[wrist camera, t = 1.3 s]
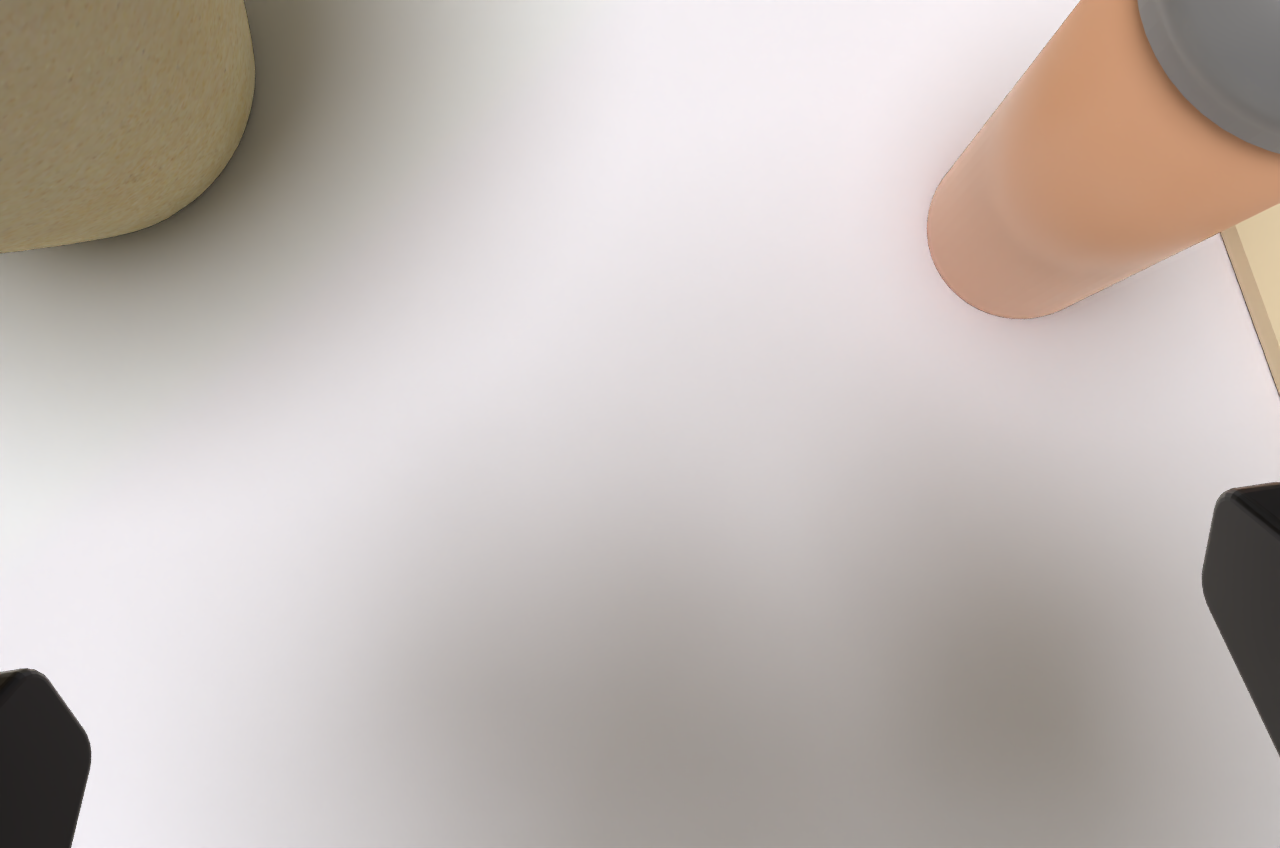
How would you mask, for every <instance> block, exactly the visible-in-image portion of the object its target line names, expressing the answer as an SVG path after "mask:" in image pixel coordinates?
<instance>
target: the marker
mask: <svg viewBox="0 0 1280 848" xmlns="http://www.w3.org/2000/svg"><path fill="white" fill-rule="evenodd" d="M1279 203H1280V0H1080V2H1079V3H1078V4H1077V6H1076V7H1075V8H1074V9H1073V11H1072V12H1071V13H1070V15H1069V16H1068V17H1067V18H1066V20H1065V21H1064V22H1063V24H1062V25H1061V26H1060V28H1059V29H1058V30H1057V31H1056V33H1055V34H1054V35H1053V37H1052V38H1051V39H1050V40H1049V42H1048V43H1047V44H1046V46H1045V47H1044V48H1043V50H1042V51H1041V52H1040V53H1039V55H1038V56H1037V57H1036V59H1035V60H1034V61H1033V62H1032V64H1031V65H1030V66H1029V68H1028V69H1027V70H1026V72H1025V73H1024V74H1023V75H1022V77H1021V78H1020V79H1019V81H1018V82H1017V83H1016V84H1015V86H1014V87H1013V88H1012V90H1011V91H1010V92H1009V94H1008V95H1007V96H1006V97H1005V99H1004V100H1003V101H1002V103H1001V104H1000V105H999V106H998V108H997V109H996V110H995V112H994V113H993V114H992V115H991V117H990V118H989V119H988V121H987V122H986V123H985V125H984V126H983V127H982V128H981V130H980V131H979V132H978V134H977V135H976V136H975V137H974V139H973V140H972V141H971V143H970V144H969V145H968V147H967V148H966V149H965V150H964V152H963V153H962V154H961V156H960V157H959V158H958V159H957V161H956V162H955V163H954V165H953V166H952V167H951V169H950V170H949V171H948V172H947V174H946V175H945V176H944V178H943V179H942V181H941V182H940V184H939V186H938V187H937V189H936V191H935V194H934V196H933V198H932V201H931V205H930V208H929V213H928V220H927V237H928V245H929V249H930V253H931V256H932V259H933V261H934V264H935V266H936V268H937V270H938V272H939V273H940V275H941V277H942V278H943V280H944V281H945V282H946V284H947V285H948V286H949V287H950V288H951V289H952V290H953V291H954V292H955V293H956V294H957V295H958V296H959V297H960V298H962V299H963V300H964V301H966V302H967V303H968V304H970V305H972V306H974V307H975V308H977V309H979V310H981V311H984V312H986V313H989V314H992V315H996V316H999V317H1005V318H1012V319H1029V318H1038V317H1042V316H1046V315H1050V314H1052V313H1055V312H1057V311H1060V310H1062V309H1064V308H1066V307H1068V306H1070V305H1072V304H1075V303H1077V302H1079V301H1081V300H1083V299H1085V298H1087V297H1089V296H1091V295H1093V294H1095V293H1097V292H1099V291H1101V290H1103V289H1105V288H1107V287H1109V286H1111V285H1113V284H1115V283H1117V282H1120V281H1122V280H1124V279H1126V278H1128V277H1130V276H1132V275H1134V274H1136V273H1138V272H1140V271H1142V270H1144V269H1146V268H1148V267H1150V266H1152V265H1154V264H1156V263H1158V262H1160V261H1162V260H1165V259H1167V258H1169V257H1171V256H1173V255H1175V254H1177V253H1179V252H1181V251H1183V250H1185V249H1187V248H1189V247H1191V246H1193V245H1195V244H1197V243H1199V242H1201V241H1203V240H1205V239H1207V238H1209V237H1212V236H1214V235H1216V234H1218V233H1220V232H1222V231H1224V230H1226V229H1228V228H1230V227H1232V226H1234V225H1236V224H1238V223H1240V222H1242V221H1244V220H1246V219H1248V218H1250V217H1252V216H1254V215H1257V214H1259V213H1261V212H1263V211H1265V210H1267V209H1269V208H1271V207H1273V206H1275V205H1277V204H1279Z"/></svg>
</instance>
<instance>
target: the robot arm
mask: <svg viewBox="0 0 1280 848" xmlns="http://www.w3.org/2000/svg"><path fill="white" fill-rule="evenodd" d="M1202 587H1203V592H1204V596H1205V600H1206V603H1207V605H1208V607H1209V610H1210V612H1211V614H1212V616H1213V618H1214V620H1215V622H1216V624H1217V627H1218V629H1219V631H1220V633H1221V635H1222V637H1223V639H1224V641H1225V643H1226V645H1227V647H1228V650H1229V652H1230V654H1231V656H1232V658H1233V660H1234V662H1235V664H1236V666H1237V668H1238V670H1239V673H1240V675H1241V677H1242V679H1243V681H1244V683H1245V685H1246V687H1247V689H1248V691H1249V693H1250V696H1251V698H1252V700H1253V702H1254V704H1255V706H1256V708H1257V710H1258V712H1259V714H1260V716H1261V719H1262V721H1263V723H1264V725H1265V727H1266V729H1267V731H1268V733H1269V735H1270V737H1271V739H1272V742H1273V744H1274V746H1275V748H1276V750H1277V752H1278V754H1279V756H1280V482H1272V483H1265V484H1259V485H1252V486H1245V487H1238V488H1233V489H1230V490H1227V491H1225V492H1224V493H1223V494H1221V496H1220V497H1219V498H1218V500H1217V502H1216V505H1215V508H1214V513H1213V518H1212V523H1211V528H1210V533H1209V539H1208V544H1207V549H1206V554H1205V559H1204V564H1203V569H1202ZM90 765H91V747H90V742H89V739H88V736H87V734H86V732H85V730H84V729H83V727H82V726H81V725H80V723H79V722H78V720H77V719H76V717H75V716H74V715H73V713H72V712H71V710H70V709H69V708H68V706H67V705H66V703H65V702H64V701H63V699H62V698H61V696H60V695H59V694H58V692H57V691H56V689H55V688H54V686H53V685H52V684H51V682H50V681H49V680H48V678H47V677H46V676H45V675H44V674H42V673H40V672H38V671H37V670H35V669H28V668H25V669H17V670H10V671H3V672H0V848H71V846H72V841H73V837H74V833H75V829H76V825H77V821H78V816H79V812H80V808H81V804H82V800H83V796H84V792H85V787H86V783H87V779H88V775H89V771H90Z"/></svg>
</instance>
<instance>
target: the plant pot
mask: <svg viewBox="0 0 1280 848" xmlns="http://www.w3.org/2000/svg"><path fill="white" fill-rule="evenodd" d="M254 89H255V60H254V53H253V46H252V39H251V34H250V29H249V23H248V18H247V12H246V8H245V4H244V0H0V253H7V252H17V251H24V250H32V249H39V248H47V247H55V246H62V245H68V244H74V243H80V242H86V241H92V240H98V239H103V238H109V237H114V236H118V235H122V234H127V233H131V232H135V231H138V230H141V229H144V228H147V227H150V226H152V225H154V224H157V223H159V222H161V221H163V220H165V219H168V218H169V217H171V216H172V215H173V214H175V213H176V212H178V211H179V210H181V209H182V208H184V207H185V206H187V205H188V204H190V203H191V202H192V201H194V200H195V199H196V198H197V197H198V196H200V195H201V194H202V193H203V192H204V191H205V190H206V189H207V188H208V187H209V186H210V185H211V184H212V183H213V182H214V180H215V179H216V178H217V177H218V176H219V175H220V173H221V172H222V170H223V169H224V167H225V166H226V165H227V163H228V162H229V160H230V159H231V157H232V155H233V154H234V152H235V150H236V148H237V147H238V145H239V142H240V140H241V138H242V135H243V133H244V131H245V127H246V124H247V121H248V117H249V114H250V111H251V106H252V101H253V95H254Z"/></svg>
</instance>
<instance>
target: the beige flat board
mask: <svg viewBox="0 0 1280 848" xmlns="http://www.w3.org/2000/svg"><path fill="white" fill-rule="evenodd" d="M1221 235H1222V238H1223V240H1224V243H1225V246H1226V249H1227V251H1228V254H1229V257H1230V260H1231V262H1232V265H1233V268H1234V271H1235V273H1236V276H1237V279H1238V282H1239V284H1240V287H1241V290H1242V293H1243V295H1244V298H1245V301H1246V304H1247V306H1248V309H1249V312H1250V315H1251V317H1252V320H1253V323H1254V326H1255V329H1256V331H1257V334H1258V337H1259V340H1260V342H1261V345H1262V348H1263V351H1264V353H1265V356H1266V359H1267V362H1268V364H1269V367H1270V370H1271V373H1272V375H1273V378H1274V381H1275V384H1276V386H1277V389H1278V392H1279V395H1280V203H1279V204H1277V205H1275V206H1273V207H1271V208H1269V209H1267V210H1265V211H1263V212H1261V213H1259V214H1257V215H1254V216H1252V217H1250V218H1248V219H1246V220H1244V221H1242V222H1240V223H1238V224H1236V225H1234V226H1232V227H1230V228H1228V229H1226V230H1224V231H1222V232H1221Z"/></svg>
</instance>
